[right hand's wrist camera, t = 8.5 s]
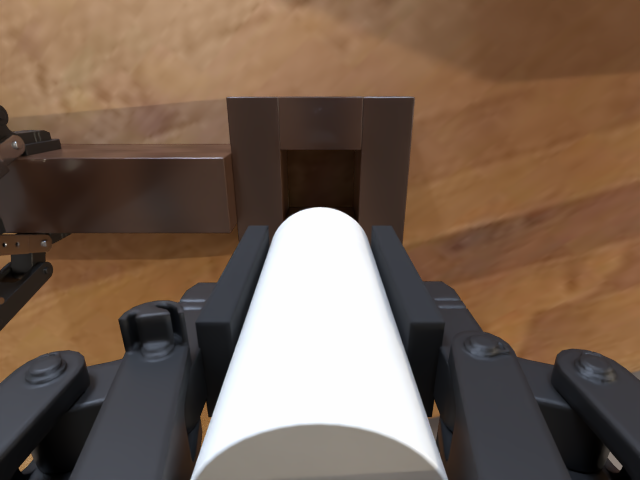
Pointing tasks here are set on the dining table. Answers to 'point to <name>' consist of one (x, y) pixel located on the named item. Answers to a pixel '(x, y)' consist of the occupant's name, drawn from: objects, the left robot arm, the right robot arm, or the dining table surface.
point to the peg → (319, 370)
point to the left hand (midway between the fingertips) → (58, 182)
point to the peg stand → (217, 173)
